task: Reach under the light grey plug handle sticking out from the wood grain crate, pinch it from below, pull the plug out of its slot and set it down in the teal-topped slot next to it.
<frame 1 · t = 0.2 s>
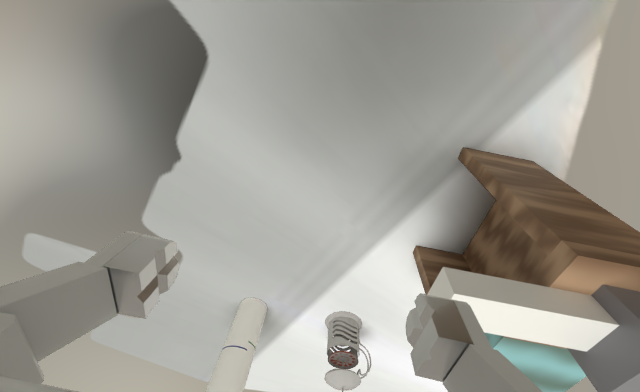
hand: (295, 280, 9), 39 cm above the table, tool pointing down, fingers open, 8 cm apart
wood grain crate: (465, 212, 51), on the table
plug: (576, 308, 26), point 26 cm above the table, touching wood grain crate
cylindrical container: (254, 306, 71), on the table
french press: (346, 323, 72), on the table
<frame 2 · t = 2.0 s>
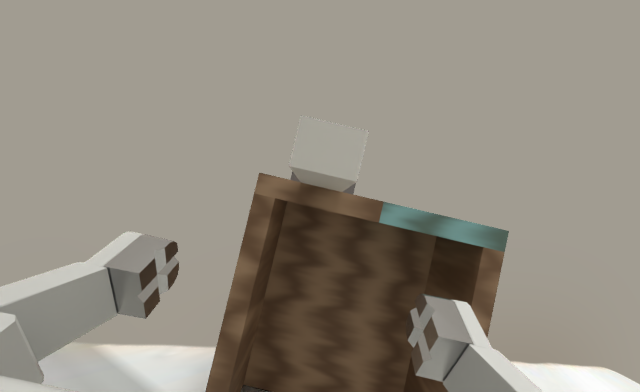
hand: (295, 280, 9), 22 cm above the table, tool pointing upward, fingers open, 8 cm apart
plug: (321, 190, 29), point 26 cm above the table, touching wood grain crate
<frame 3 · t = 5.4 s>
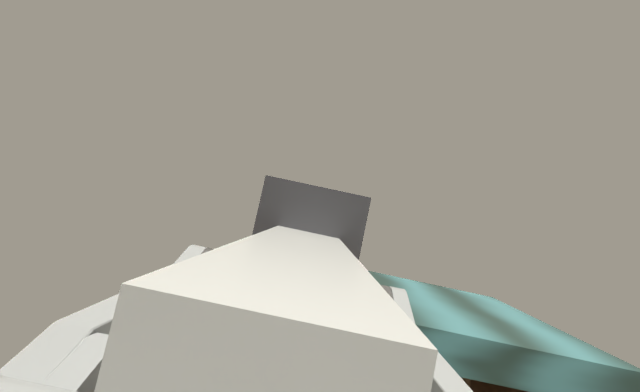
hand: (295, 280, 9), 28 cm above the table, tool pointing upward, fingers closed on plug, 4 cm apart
plug: (298, 278, 17), point 26 cm above the table, touching wood grain crate, gripper
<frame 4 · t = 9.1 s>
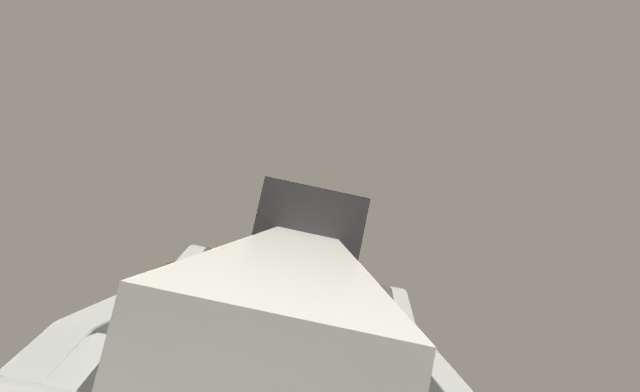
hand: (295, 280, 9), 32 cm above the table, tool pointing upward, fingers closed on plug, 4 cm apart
plug: (298, 279, 17), point 30 cm above the table, touching gripper
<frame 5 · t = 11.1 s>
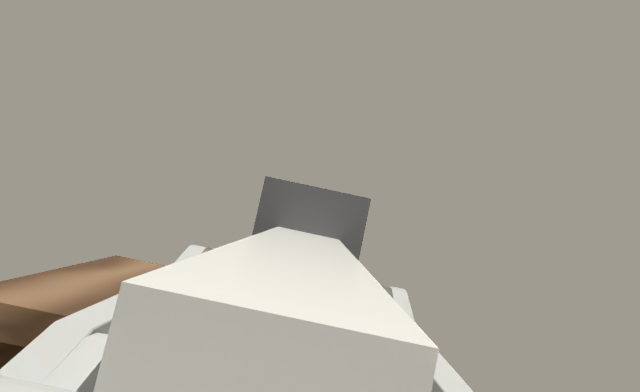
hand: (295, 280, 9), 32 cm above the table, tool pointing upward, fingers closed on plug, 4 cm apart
plug: (298, 279, 17), point 30 cm above the table, touching gripper
when the fingers open (29 cm above the table, at t = 12.7 s): plug drops 1 cm, resting on wood grain crate.
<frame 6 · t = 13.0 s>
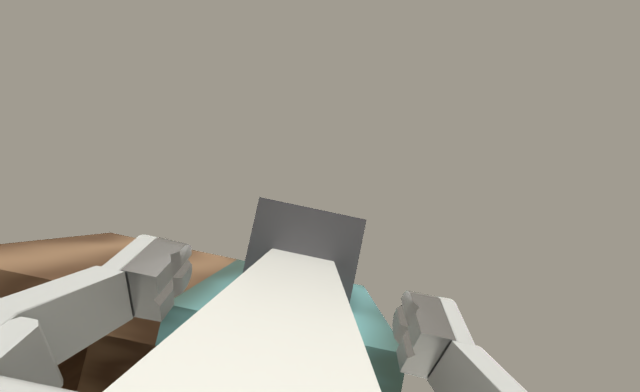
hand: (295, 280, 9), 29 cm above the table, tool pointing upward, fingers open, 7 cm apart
plug: (293, 302, 17), point 26 cm above the table, touching wood grain crate
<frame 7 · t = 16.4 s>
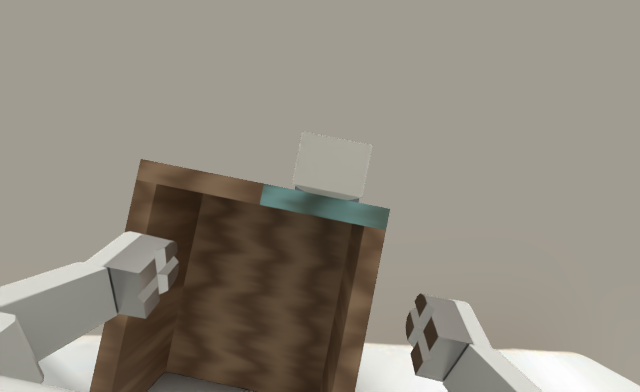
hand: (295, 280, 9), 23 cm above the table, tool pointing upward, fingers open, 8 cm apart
plug: (326, 197, 29), point 26 cm above the table, touching wood grain crate
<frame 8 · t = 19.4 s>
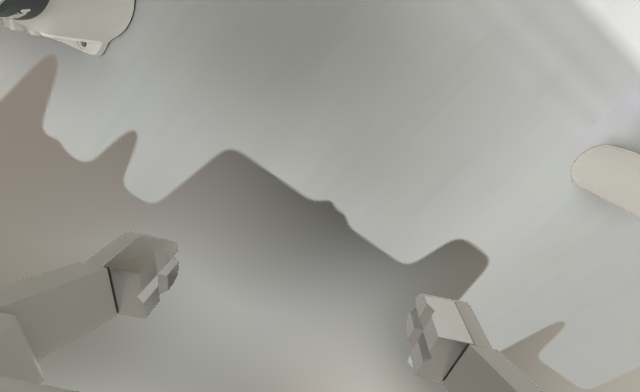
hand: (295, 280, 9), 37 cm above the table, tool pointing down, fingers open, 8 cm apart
cylindrical container: (595, 166, 43), on the table
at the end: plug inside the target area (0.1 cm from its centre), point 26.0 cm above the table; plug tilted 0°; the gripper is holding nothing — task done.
